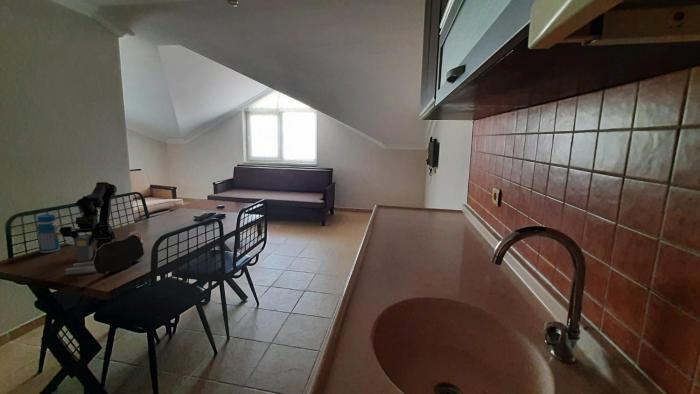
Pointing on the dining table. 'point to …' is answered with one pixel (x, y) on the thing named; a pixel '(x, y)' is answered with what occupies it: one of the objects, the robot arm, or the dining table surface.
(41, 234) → the beverage bottle
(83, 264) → the din rail
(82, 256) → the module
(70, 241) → the white angled block
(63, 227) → the robot arm
